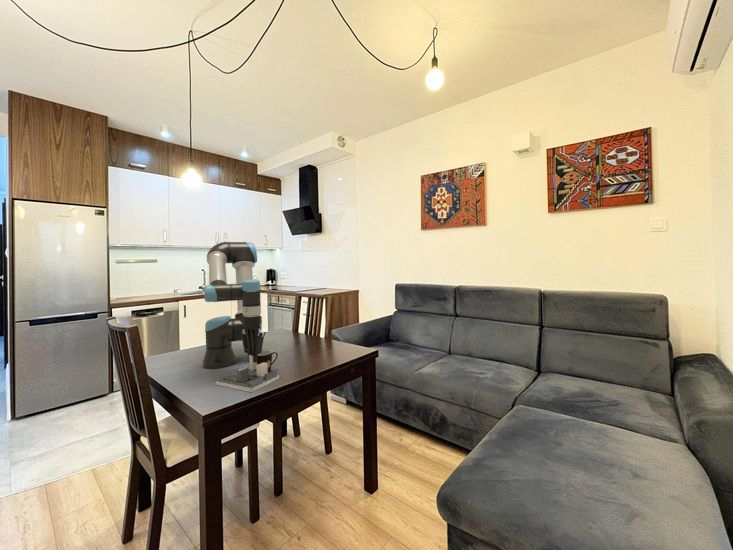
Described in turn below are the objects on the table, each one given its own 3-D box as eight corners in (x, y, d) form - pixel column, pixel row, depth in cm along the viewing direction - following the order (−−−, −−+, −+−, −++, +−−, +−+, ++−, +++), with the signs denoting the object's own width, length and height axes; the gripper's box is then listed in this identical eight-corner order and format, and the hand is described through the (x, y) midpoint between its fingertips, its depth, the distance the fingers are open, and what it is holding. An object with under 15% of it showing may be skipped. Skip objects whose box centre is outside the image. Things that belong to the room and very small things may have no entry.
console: (215, 384, 131) (215, 375, 130) (245, 372, 145) (245, 363, 145) (251, 392, 122) (251, 382, 122) (279, 378, 136) (279, 369, 136)
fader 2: (256, 376, 134) (256, 364, 134) (263, 373, 138) (263, 362, 137) (260, 377, 133) (260, 365, 133) (267, 374, 137) (267, 362, 136)
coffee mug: (254, 379, 137) (253, 356, 136) (251, 373, 145) (251, 351, 144) (281, 374, 142) (281, 352, 142) (277, 369, 150) (277, 348, 149)
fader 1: (236, 382, 128) (236, 369, 128) (244, 379, 132) (243, 366, 131) (240, 383, 127) (240, 370, 127) (248, 379, 131) (248, 367, 130)
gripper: (233, 316, 136) (235, 370, 137) (257, 317, 130) (258, 374, 131) (247, 313, 142) (248, 364, 143) (269, 315, 137) (271, 368, 138)
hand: (253, 369), depth 137 cm, fingers closed
